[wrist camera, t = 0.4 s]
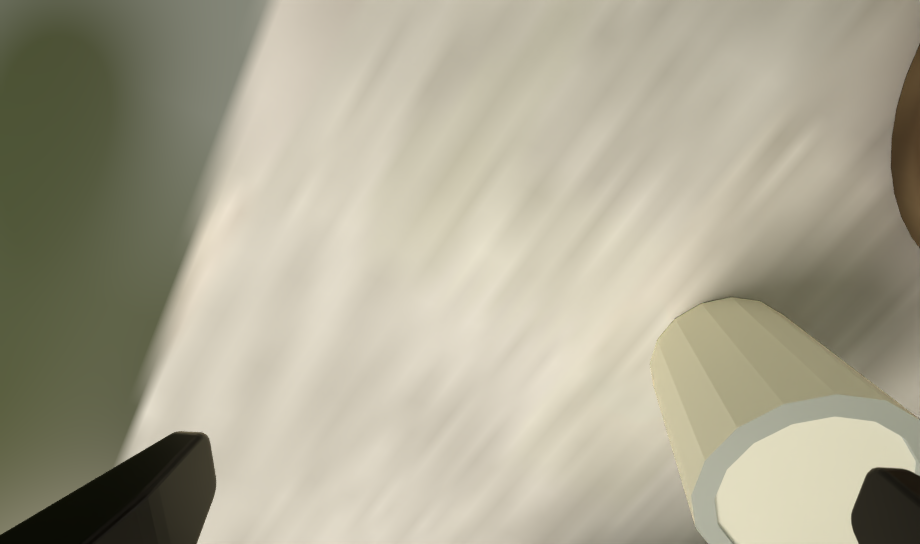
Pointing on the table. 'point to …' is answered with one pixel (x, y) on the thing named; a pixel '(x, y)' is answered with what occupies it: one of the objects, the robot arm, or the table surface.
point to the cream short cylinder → (771, 426)
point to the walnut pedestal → (908, 151)
